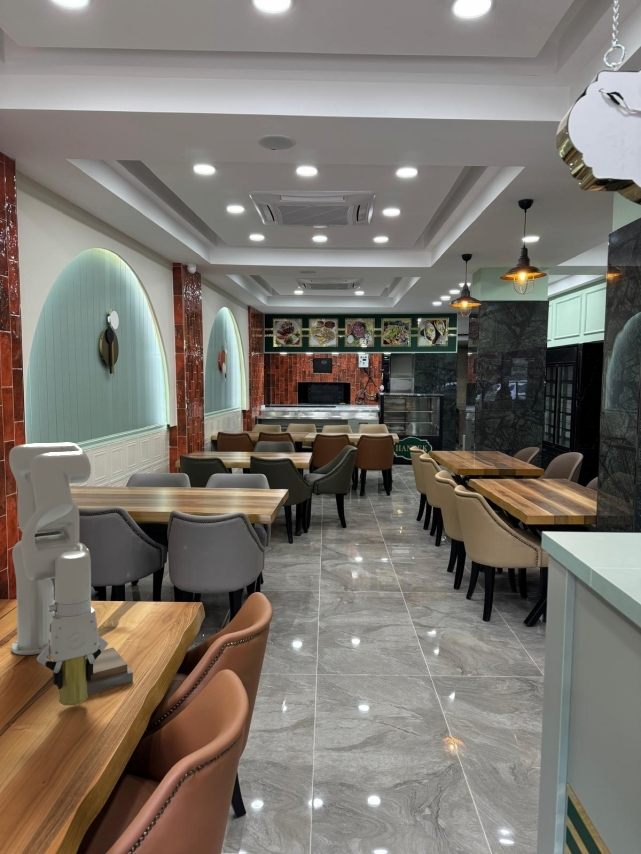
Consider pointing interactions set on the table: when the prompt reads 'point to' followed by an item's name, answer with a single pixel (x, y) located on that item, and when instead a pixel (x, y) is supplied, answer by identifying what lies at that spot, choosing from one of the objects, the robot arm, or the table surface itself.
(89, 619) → the robot arm
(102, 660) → the stand
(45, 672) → the table surface
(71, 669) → the vase
